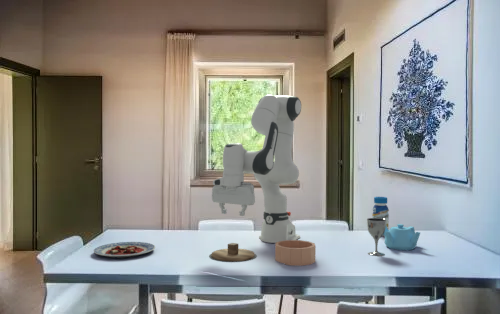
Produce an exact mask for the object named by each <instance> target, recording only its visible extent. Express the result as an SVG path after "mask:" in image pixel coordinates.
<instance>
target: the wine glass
mask: <svg viewBox="0 0 500 314" xmlns="http://www.w3.org/2000/svg"><path fill="white" fill-rule="evenodd" d="M366 225H367V226H366V227H367V231H368V233H369V235H370V236H371V237H372V239H373V240H374V245H375V246H374V247H375V249H374V250H375V251H370V252H367V254H368V255H369V256H372V257H384V256H385V255H386V254H385V253H384V252H380V251H378V243H379V240H380V239H381V237H383V236H382V235H383V234H384V232H385V229H386V219H382V218H373V217H368V218H367V219H366Z"/></svg>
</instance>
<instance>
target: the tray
mask: <svg viewBox="0 0 500 314" xmlns="http://www.w3.org/2000/svg"><path fill="white" fill-rule="evenodd" d="M208 257H209V259H211V260H213V261H217V262H222V263H241V262H249V261H253V260H255V259H257V257H258V256H257V254H256V253H255V256H254V258H252V259H249V260H245V261H220V260H216V259H214V258H212V253H211V254H209V256H208Z"/></svg>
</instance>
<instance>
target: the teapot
mask: <svg viewBox="0 0 500 314" xmlns="http://www.w3.org/2000/svg"><path fill="white" fill-rule="evenodd" d="M396 225H397V226H391V227H390V228H389V227H388V228H387V226H386V229H385V232H384V236H383V237H384V244H385V246H386V247H387V248H388V249H391V250H396V251H397V250H398V251H411V250H412V251H413V250H414V249H415V248H416V247H417V244H418V241H419V238H420V235H421V232H420V231H415V226H411V225H410V226H408V227H407V226H404V224H403V223H398V224H396Z"/></svg>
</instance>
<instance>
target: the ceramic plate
mask: <svg viewBox="0 0 500 314" xmlns="http://www.w3.org/2000/svg"><path fill="white" fill-rule="evenodd" d="M155 249H156V245H155V244H154V243H150V242H145V241H122V242H121V241H119V242H113V243H107V244H104V245H99V246H97V247H95V248H94V249H93V253H94V254H96V255H99V256H103V257H109V258H115V257H117V258H120V259H121V258H131V257H133V258H134V257H137V256H140V255H143V254H147V253H150V252H153V251H154V250H155Z"/></svg>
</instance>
